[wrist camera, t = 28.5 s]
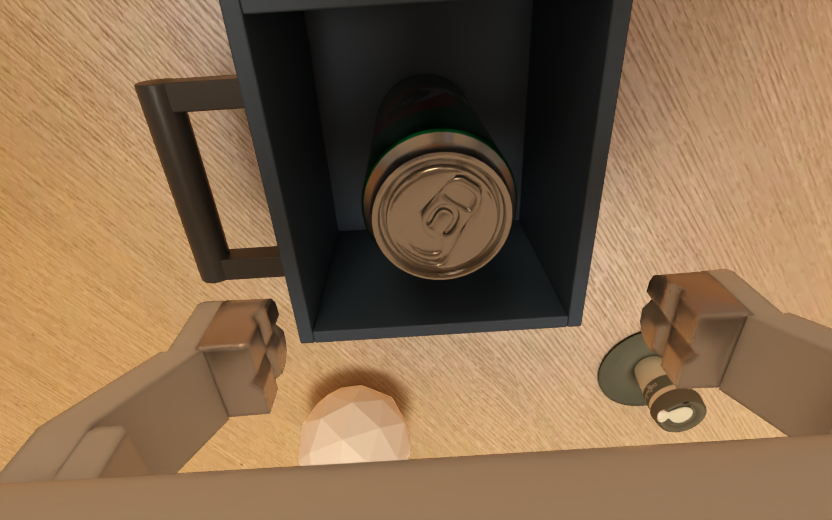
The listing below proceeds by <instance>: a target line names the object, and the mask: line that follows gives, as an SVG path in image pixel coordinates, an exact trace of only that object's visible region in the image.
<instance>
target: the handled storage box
mask: <svg viewBox="0 0 832 520" xmlns="http://www.w3.org/2000/svg"><path fill="white" fill-rule="evenodd" d="M219 3H220V7H221V11H222V15H223V19H224V24H225V28H226V32H227V36H228V40H229V45H230V49H231V53H232V57H233V61H234V65H235V70H236V74H237V75H223V76H207V77H192V78H176V79H173V78H165V79H154V80H148V81H142V82H139V83H136V84H135V85H134V87H135V90H136V93H137V96H138V98H139V101H140V104H141V107H142V110H143V113H144V116H145V118H146V121H147V124H148V127H149V130H150V133H151V136H152V138H153V141H154V144H155V147H156V150H157V153H158V156H159V158H160V161H161V164H162V167H163V170H164V173H165V176H166V178H167V181H168V184H169V187H170V190H171V193H172V196H173V198H174V201H175V204H176V207H177V210H178V213H179V216H180V218H181V221H182V224H183V227H184V230H185V233H186V236H187V238H188V241H189V244H190V247H191V250H192V253H193V256H194V258H195V261H196V264H197V267H198V270H199V273H200V276H201V278H202V280H203V281H204V282H206V283H218V282H222V281H225V280H234V279H250V278H266V277H282V276H285V279H286V283H287V287H288V291H289V295H290V299H291V304H292V308H293V312H294V316H295V320H296V325H297V329H298V333H299V337H300V341H301V343H313V342H314V341H315V342H316V343H317V342H333V341H349V340H365V339H381V338H397V337H413V336H429V335H445V334H461V333H477V332H493V331H509V330H525V329H541V328H557V327H567V326H568V327H573V326H581V321H582V315H583V309H584V303H585V297H586V290H587V284H588V278H589V272H590V265H591V259H592V253H593V247H594V240H595V234H596V228H597V222H598V215H599V209H600V203H601V197H602V190H603V184H604V178H605V172H606V165H607V159H608V153H609V147H610V140H611V134H612V128H613V122H614V115H615V109H616V103H617V97H618V90H619V84H620V78H621V72H622V66H623V59H624V53H625V47H626V41H627V34H628V28H629V22H630V16H631V9H632V3H633V0H219ZM421 74H431V75H436V76H440V77H443V78H445V79H447V80H449V81H451V82H453V83H454V84H455V85H456V86H457V87H459V88H460V90H461V91H462V92H463V93H464V94H465V96H466V98H467V99H468V101H469V102H470V104H471V105H472V107H473V109H474V110H475V112H476V113H477V115H478V117H479V118H480V120H481V121H482V123H483V125H484V126H485V128H486V129H487V131H488V133H489V134H490V136H491V137H492V139H493V141H494V142H495V144H496V145H497V147H498V149H499V150H500V152H501V153H502V155H503V157H504V158H505V160H506V161H507V163H508V165H509V166H510V168H511V171H512V173H513V176H514V178H515V183H516V188H517V207H516V213H515V216H514V220H513V223H512V225H511V227H510V231H509V234H508V237H507V239H506V241H505V243H504V245H503V246H502V247H501V249H500V250H499V252H498V253H497V254H496V255H495V256H494V257H493V258H492V259H491V260H490V261H489V262H488V263H486V264H485V265H484V266H483V267H481V268H479V269H478V270H476V271H474V272H472V273H469V274H467V275H465V276H461V277H457V278H453V279H446V280H433V279H425V278H421V277H417V276H414V275H412V274H409V273H407V272H405V271H403V270H402V269H400V268H398V267H397V266H396V265H394V264H393V263H392V262H391V261H390V260H389V259H388V258H387V257H386V256H385V255H384V253H383V252H382V251H381V250H380V249H379V247H378V246H377V245H376V244H375V243H374V241H373V240H372V238H371V236H370V235H369V233H368V231H367V228H366V226H365V223H364V219H363V214H362V202H361V200H362V192H363V185H364V180H365V175H366V170H367V164H368V159H369V154H370V148H371V143H372V138H373V132H374V127H375V122H376V116H377V112H378V109H379V106H380V104H381V102H382V99H383V98H384V97H385V95H386V94H387V92H388V91H389V90H390V89H391V88H392V87H393V86H394V85H396V84H397V83H398V82H400V81H402V80H404V79H406V78H408V77H411V76H414V75H421ZM240 108H245V111H246V116H247V120H248V124H249V128H250V132H251V136H252V141H253V145H254V149H255V153H256V157H257V162H258V166H259V170H260V174H261V178H262V182H263V187H264V191H265V195H266V199H267V203H268V208H269V212H270V216H271V220H272V224H273V228H274V233H275V237H276V241H277V245H278V246H272V247H256V248H240V249H229V247H228V244H227V241H226V237H225V234H224V231H223V228H222V224H221V221H220V218H219V214H218V211H217V208H216V204H215V201H214V198H213V194H212V191H211V188H210V185H209V181H208V178H207V175H206V171H205V168H204V165H203V161H202V158H201V155H200V151H199V148H198V145H197V141H196V138H195V135H194V132H193V128H192V125H191V122H190V118H189V115H188V112H194V111H209V110H225V109H240Z"/></svg>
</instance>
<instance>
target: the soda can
mask: <svg viewBox="0 0 832 520" xmlns="http://www.w3.org/2000/svg"><path fill="white" fill-rule="evenodd" d="M361 202H362V214H363V219H364V223H365V226H366V228H367V231H368V233H369V235H370V236H371V238H372V240H373V241H374V243H375V244H376V245H377V246H378V247H379V249H380V250H381V251H382V252H383V253H384V255H385V256H386V257H387V258H388V259H389V260H390V261H391V262H392V263H393V264H394V265H396V266H397V267H398V268H400V269H402V270H403V271H405V272H407V273H409V274H412V275H414V276H417V277H421V278H425V279H433V280H446V279H453V278H457V277H461V276H465V275H467V274H469V273H472V272H474V271H476V270H478V269H479V268H481V267H483V266H484V265H485V264H486V263H488V262H489V261H490V260H491V259H492V258H493V257H494V256H495V255H496V254H497V253H498V252H499V250H500V249H501V247H502V246H503V245H504V243H505V241H506V239H507V237H508V234H509V231H510V227H511V225H512V223H513V220H514V216H515V213H516V207H517V188H516V183H515V178H514V176H513V173H512V171H511V168H510V166H509V165H508V163H507V161H506V160H505V158H504V157H503V155H502V153H501V152H500V150H499V149H498V147H497V145H496V144H495V142H494V141H493V139H492V137H491V136H490V134H489V133H488V131H487V129H486V128H485V126H484V125H483V123H482V121H481V120H480V118H479V117H478V115H477V113H476V112H475V110H474V109H473V107H472V105H471V104H470V102H469V101H468V99H467V98H466V96H465V94H464V93H463V92H462V91H461V90H460V88H459V87H457V86H456V85H455V84H454V83H453V82H451V81H449V80H447V79H445V78H443V77H440V76H436V75H431V74H421V75H414V76H411V77H408V78H406V79H404V80H402V81H400V82H398V83H397V84H396V85H394V86H393V87H392V88H391V89H390V90H389V91H388V92H387V94H386V95H385V97H384V98H383V99H382V102H381V104H380V106H379V109H378V112H377V116H376V122H375V127H374V132H373V138H372V143H371V148H370V154H369V159H368V164H367V170H366V175H365V180H364V185H363V192H362V200H361Z"/></svg>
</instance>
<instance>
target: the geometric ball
mask: <svg viewBox="0 0 832 520" xmlns="http://www.w3.org/2000/svg"><path fill="white" fill-rule="evenodd" d="M410 452H411V446H410V438H409V430H408V425H407V423H406V421H405V419H404V417H403V416H402V414H401V412H400V410H399V408H398V407H397V405H396V403H395V401H394V399H393V398H392V397H391V396H388V395H386V394H383V393H381V392H378V391H376V390H373V389H371V388H368V387H366V386H363V385H358V386H350V387H341V388H339V389H337V390H336V391H334V392H332V393H330V394H328V395H327V396H326V397H324V398H323V399H322V400H321V401H320V402H319V403H318V404H316V405H315V407H314V408H313V410H312V411H311V413H310V414H309V415H308V417H307V418H306V420H305V421H304V423H303V425H302V432H301V439H300V448H299V456H298V462H299V464H300V465H301V466H308V465H325V464H341V463H358V462H375V461H391V460H408V457H409V455H410Z"/></svg>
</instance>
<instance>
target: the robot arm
mask: <svg viewBox="0 0 832 520" xmlns="http://www.w3.org/2000/svg"><path fill="white" fill-rule="evenodd" d="M647 293H648V294H649V296H650V297H651V299H652V300H651V301H650V302H649V303H648V304H647V305H646V306H645V307H644V308H643V309H642V314H641V319H640V324H641V333H642V336H643V338H644V341H645V343H646V345H647V346H648V348H649V349H650V351H652V352H654V353H656V354H658V355H659V356H661V357H663V358H662V362H661V367H662V368H663V370H664V371H665V373H666V374H667V376H668V377H669V378H670V380H671V381H672V383H673V384H674V386H675V387H676V389H685V388H714V387H720V388H719V390H721V391H722V392H724V393H725V394H727V395H728V396H730V397H731V398H733V399H734V400H736V401H737V402H739V403H740V404H742V405H743V406H745V407H746V408H747V409H749V410H750V411H752V412H753V413H755V414H756V415H758V416H759V417H761V418H762V419H764V420H765V421H767V422H768V423H770V424H771V425H773V426H774V427H776V428H777V429H778V430H780V431H781V432H783V433H784V434H786V435H787V436H789V437H775V438H759V439H744V440H728V441H711V442H693V443H676V444H659V445H641V446H624V447H607V448H589V449H572V450H556V451H539V452H523V453H507V454H490V455H474V456H457V457H441V458H424V459H408V460H391V461H375V462H358V463H341V464H325V465H308V466H291V467H275V468H258V469H241V470H225V471H208V472H192V473H177V472H178V471H179V470H180V469H181V468H182V467H183V466H184V465H185V464H186V463H187V462H188V461H189V460H190V459H191V458H192V457H193V456H194V455H195V454H196V453H197V452H198V451H199V450H200V448H201V447H202V446H203V445H204V444H205V443H206V442H207V441H208V440H209V439H210V438H211V437H212V436H213V435H214V434H215V433H216V432H217V431H218V430H219V429H220V428H221V427H222V426H223V425H224V424H225V423H226V422H227V421H228V420H229V418H228V417H236V416H247V415H258V414H270V412H271V409H272V406H273V403H274V400H275V396H276V393H277V390H278V387H277V384H276V380H275V379H276V378H277V377H279V376H280V375H281V374H282V373H283V370H284V367H285V363H286V351H287V349H286V340H285V336H284V332H283V330H282V329H281V328H279V327H278V326H277V325H276V321H277V318H278V316H279V313H278V310H277V307H276V303H275V302H274V301H273V300H272V299H252V300H228V301H211V302H202V303H200V304H198V305H197V307H196V308H195V310H194V311H193V313H192V314H191V316H190V317H189V319H188V321H187V322H186V324H185V325H184V327H183V328H182V330H181V331H180V333H179V334H178V336H177V337H176V339H175V341H174V342H173V344H172V345H171V347H170V348H169V350H168V351H167V352H159V353H158V354H156V355H155V356H153V357H151V358H150V359H148V360H146V361H145V362H143V363H142V364H140V365H138V366H137V367H135V368H134V369H132V370H130V371H129V372H127V373H125V374H124V375H122V376H121V377H119V378H117V379H116V380H114V381H113V382H111V383H109V384H108V385H106V386H104V387H103V388H101V389H100V390H98V391H96V392H95V393H93V394H92V395H90V396H88V397H87V398H85V399H84V400H82V401H80V402H79V403H77V404H75V405H74V406H72V407H71V408H69V409H67V410H66V411H64V412H63V413H61V414H59V415H58V416H56V417H54V418H53V419H51V420H50V421H48V422H46V423H45V424H43V425H42V426H40V427H38V428H37V429H36V430H35V431H34V433H33V434H32V435H31V436H30V437H29V439H28V440H27V441H26V442H25V444H24V445H23V446H22V447H21V448H20V450H19V451H18V452H17V453H16V454H15V456H14V457H13V458H12V459H11V460H10V462H9V463H8V464H7V465H6V466H5V468H4V469H3V470H2V471H1V472H0V520H832V329H831V328H828V327H826V326H823V325H821V324H818V323H815V322H813V321H810V320H807V319H805V318H802V317H800V316H797V315H794V314H792V313H786V314H783V313H782V312H780V311H779V310H778V309H777V308H776V307H775V306H773V305H772V304H771V303H770V302H769V301H768V300H766V299H765V298H764V297H763V296H762V295H761V294H759V293H758V292H757V291H756V290H755V289H753V288H752V287H751V286H750V285H749V284H748V283H746V282H745V281H744V280H743V279H742V278H741V277H739V276H738V275H737V274H736V273H735V272H734V271H731V270H728V269H719V270H708V271H701V272H691V273H678V274H665V275H654V276H653V277H652V279H651V280H650V282H649V285H648V289H647Z"/></svg>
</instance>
